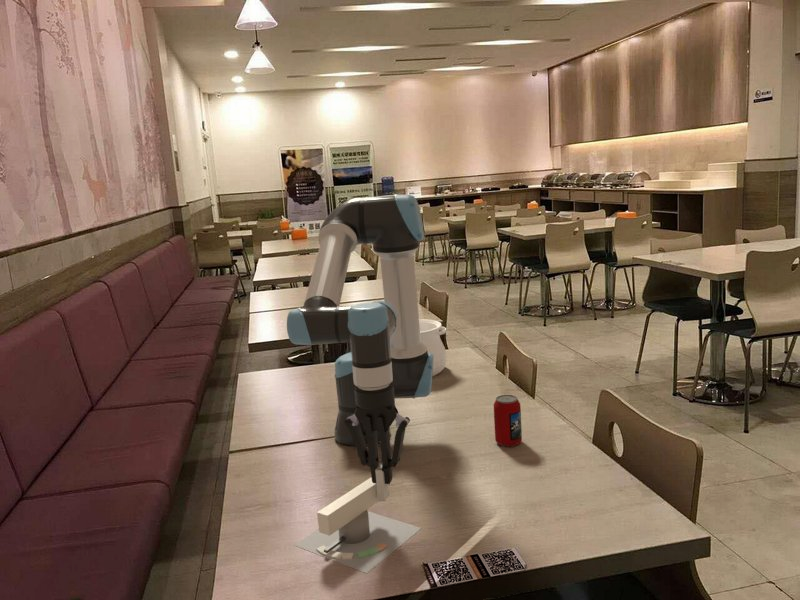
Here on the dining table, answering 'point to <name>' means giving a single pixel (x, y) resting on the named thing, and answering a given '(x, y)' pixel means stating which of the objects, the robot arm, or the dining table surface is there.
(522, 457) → the dining table surface
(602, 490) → the dining table surface
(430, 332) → the pot
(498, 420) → the beverage can
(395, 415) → the robot arm
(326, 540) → the tuner board
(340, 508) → the rotary bar knob
